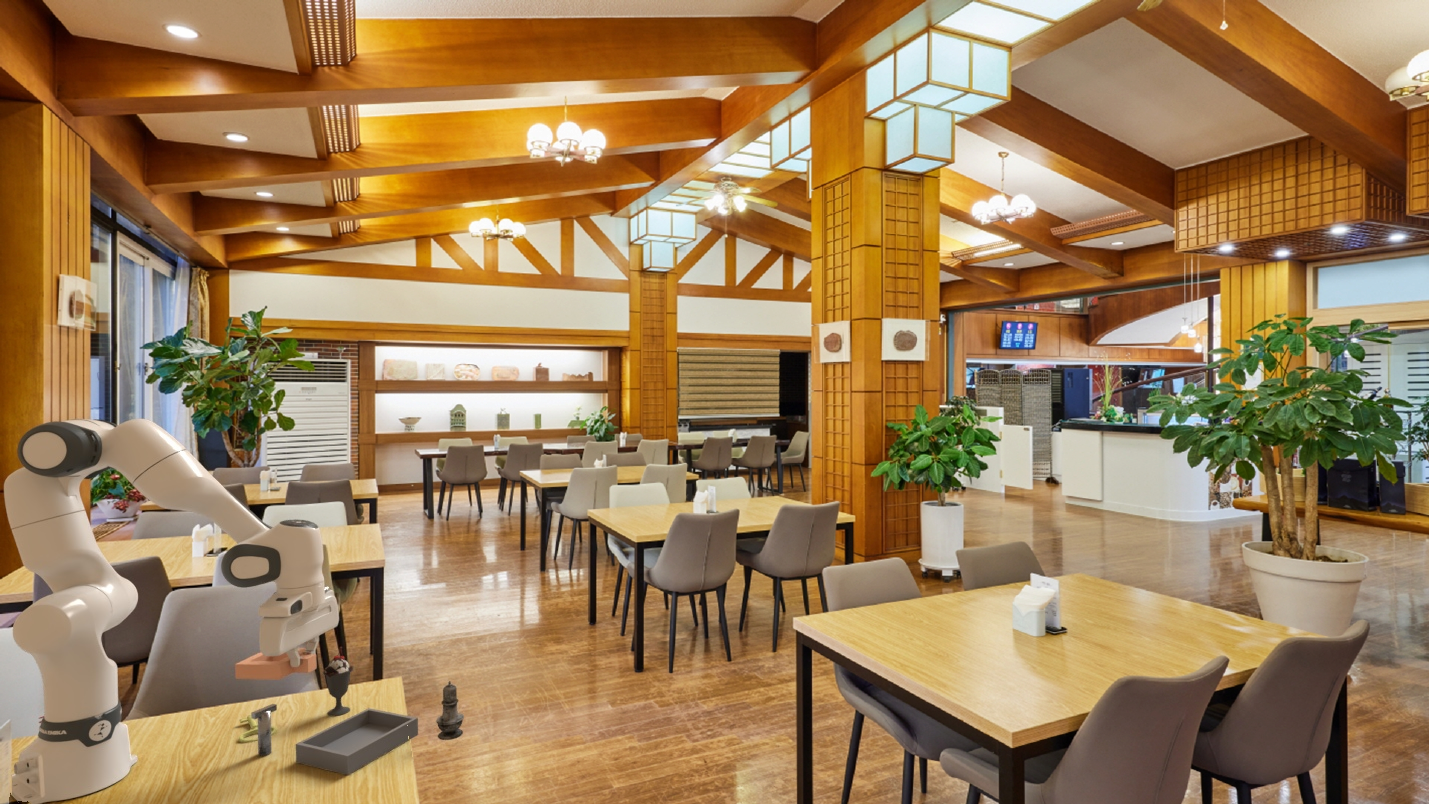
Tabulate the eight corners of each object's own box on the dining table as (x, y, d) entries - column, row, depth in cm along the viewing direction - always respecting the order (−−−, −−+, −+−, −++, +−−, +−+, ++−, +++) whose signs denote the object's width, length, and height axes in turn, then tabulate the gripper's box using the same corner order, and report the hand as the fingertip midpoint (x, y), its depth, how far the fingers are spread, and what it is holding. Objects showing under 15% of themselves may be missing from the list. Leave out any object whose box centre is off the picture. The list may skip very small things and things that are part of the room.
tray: (296, 762, 151) (295, 744, 151) (369, 724, 168) (368, 708, 168) (348, 775, 146) (347, 756, 146) (418, 734, 163) (417, 717, 163)
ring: (235, 678, 150) (235, 664, 150) (270, 661, 160) (270, 647, 160) (296, 679, 149) (295, 665, 149) (327, 662, 159) (327, 648, 159)
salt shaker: (455, 741, 160) (454, 687, 159) (430, 739, 161) (430, 685, 161) (469, 729, 165) (468, 676, 165) (445, 727, 166) (445, 675, 166)
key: (251, 722, 171) (251, 713, 171) (281, 734, 165) (281, 725, 165) (217, 735, 165) (217, 726, 165) (247, 748, 159) (247, 738, 159)
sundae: (350, 703, 180) (349, 642, 180) (357, 712, 175) (356, 650, 175) (320, 711, 176) (319, 649, 176) (326, 720, 171) (325, 656, 171)
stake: (250, 757, 153) (249, 712, 153) (271, 747, 158) (270, 703, 158) (257, 759, 152) (257, 714, 152) (279, 749, 157) (278, 704, 157)
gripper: (319, 584, 164) (321, 645, 165) (251, 611, 144) (254, 680, 144) (345, 584, 164) (347, 645, 164) (281, 611, 143) (283, 681, 144)
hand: (303, 662), depth 154 cm, fingers closed on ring, 3 cm apart
